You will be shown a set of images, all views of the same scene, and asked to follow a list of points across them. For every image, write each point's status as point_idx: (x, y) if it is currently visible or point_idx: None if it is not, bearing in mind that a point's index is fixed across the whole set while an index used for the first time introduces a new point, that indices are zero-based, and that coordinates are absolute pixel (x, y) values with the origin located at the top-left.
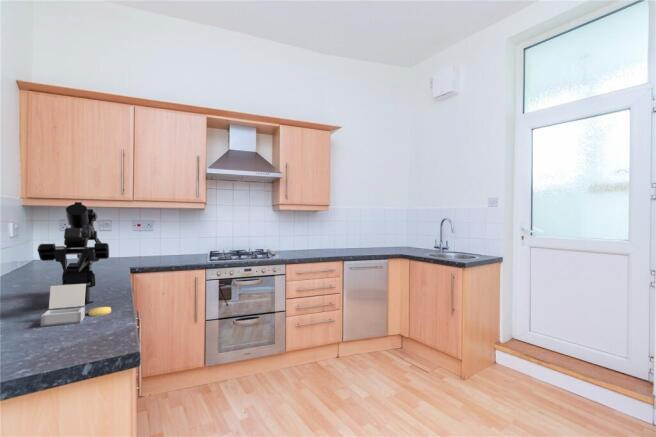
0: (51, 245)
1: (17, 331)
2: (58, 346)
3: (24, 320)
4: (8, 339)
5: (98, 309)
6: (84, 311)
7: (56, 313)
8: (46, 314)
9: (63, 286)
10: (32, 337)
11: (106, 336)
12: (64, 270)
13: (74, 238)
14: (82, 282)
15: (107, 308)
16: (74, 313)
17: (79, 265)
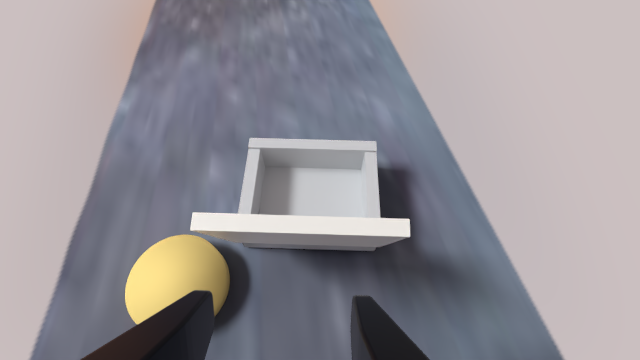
0: None
1: (425, 157)
2: (292, 16)
3: (473, 312)
4: (414, 95)
5: (182, 277)
6: None
7: None
8: (362, 149)
9: (330, 217)
10: (362, 88)
11: (202, 33)
12: (356, 295)
13: None
14: None
15: (143, 278)
16: (270, 140)
17: (163, 322)
